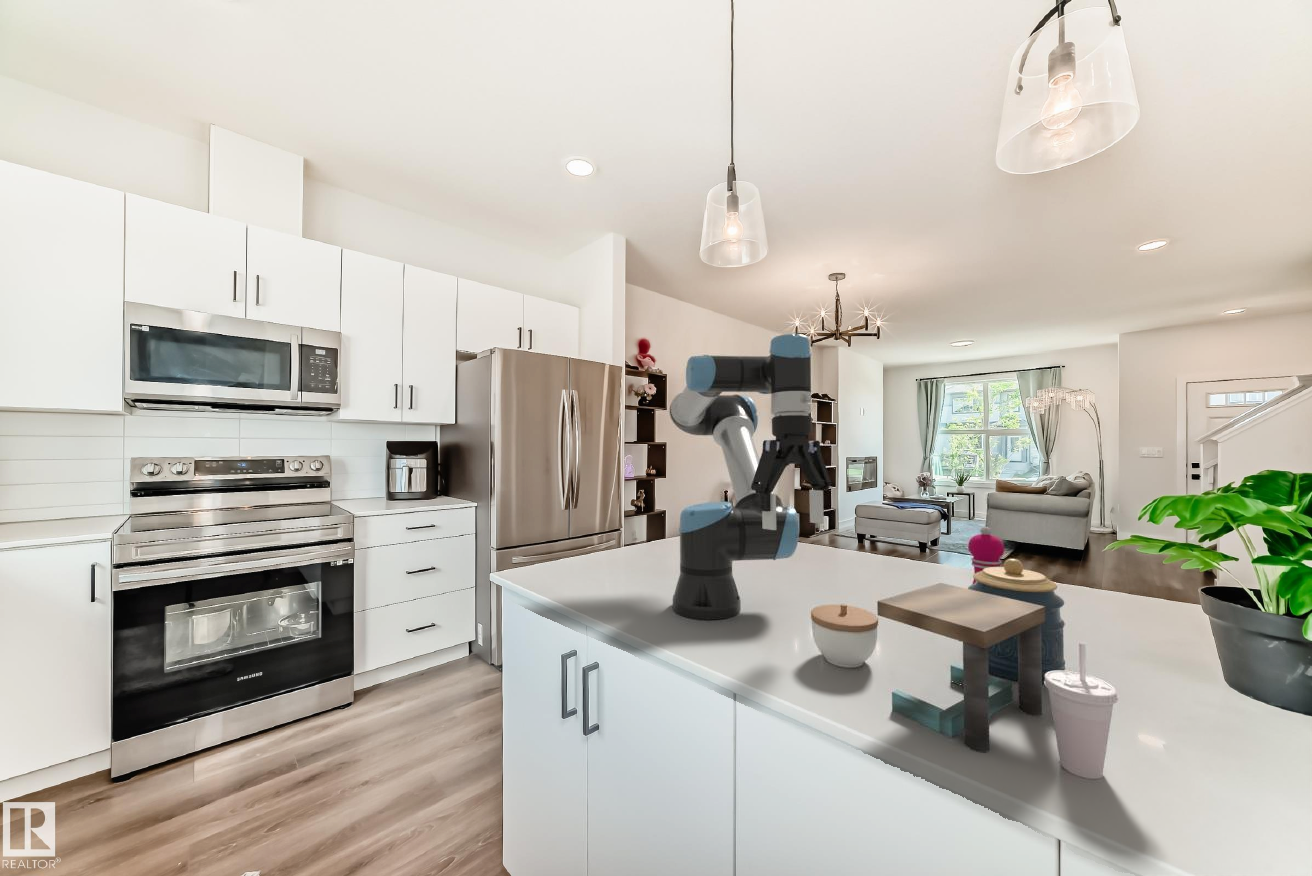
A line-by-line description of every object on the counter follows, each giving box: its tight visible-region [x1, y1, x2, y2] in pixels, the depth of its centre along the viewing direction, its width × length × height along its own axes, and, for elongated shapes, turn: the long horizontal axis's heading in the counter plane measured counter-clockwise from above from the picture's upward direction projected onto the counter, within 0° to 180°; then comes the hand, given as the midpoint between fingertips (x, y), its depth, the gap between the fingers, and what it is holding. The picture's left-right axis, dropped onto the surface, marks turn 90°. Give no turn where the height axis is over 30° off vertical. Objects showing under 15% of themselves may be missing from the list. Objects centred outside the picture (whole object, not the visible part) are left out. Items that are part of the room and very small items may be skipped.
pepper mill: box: [967, 526, 1005, 585], centre depth 101 cm, size 7×7×20 cm
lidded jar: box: [810, 603, 879, 669], centre depth 86 cm, size 11×11×9 cm
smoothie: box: [1043, 641, 1119, 780], centre depth 57 cm, size 6×6×14 cm
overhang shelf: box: [876, 582, 1045, 753], centre depth 70 cm, size 14×17×14 cm
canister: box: [967, 558, 1066, 684], centre depth 83 cm, size 13×13×18 cm
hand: (794, 526), depth 97 cm, fingers open, 13 cm apart
